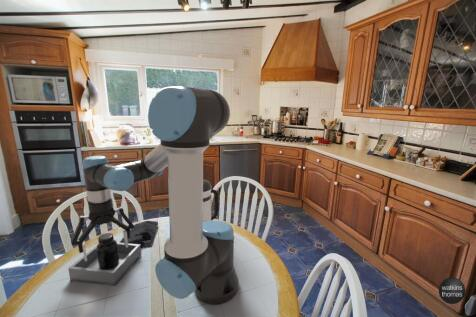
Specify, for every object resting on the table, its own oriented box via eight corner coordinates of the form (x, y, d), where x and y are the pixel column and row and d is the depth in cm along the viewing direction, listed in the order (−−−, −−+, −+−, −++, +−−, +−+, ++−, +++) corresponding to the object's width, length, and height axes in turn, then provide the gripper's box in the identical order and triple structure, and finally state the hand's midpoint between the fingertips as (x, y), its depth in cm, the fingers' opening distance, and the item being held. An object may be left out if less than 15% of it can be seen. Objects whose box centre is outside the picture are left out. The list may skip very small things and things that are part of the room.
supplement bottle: (121, 265, 89) (118, 236, 87) (101, 273, 85) (96, 243, 82) (116, 256, 94) (113, 229, 92) (97, 263, 90) (93, 235, 87)
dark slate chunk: (163, 225, 123) (162, 216, 122) (150, 250, 101) (149, 240, 100) (133, 225, 122) (132, 217, 121) (113, 250, 100) (112, 240, 99)
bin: (141, 255, 97) (140, 244, 96) (115, 285, 80) (113, 273, 79) (103, 251, 99) (102, 241, 98) (70, 280, 83) (68, 268, 81)
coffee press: (214, 244, 105) (214, 180, 98) (179, 244, 105) (176, 180, 99) (218, 225, 122) (218, 169, 115) (188, 225, 122) (185, 169, 115)
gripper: (134, 189, 94) (138, 237, 99) (56, 204, 79) (65, 259, 84) (139, 194, 88) (144, 245, 93) (56, 212, 73) (66, 271, 78)
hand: (106, 252), depth 88 cm, fingers open, 13 cm apart
